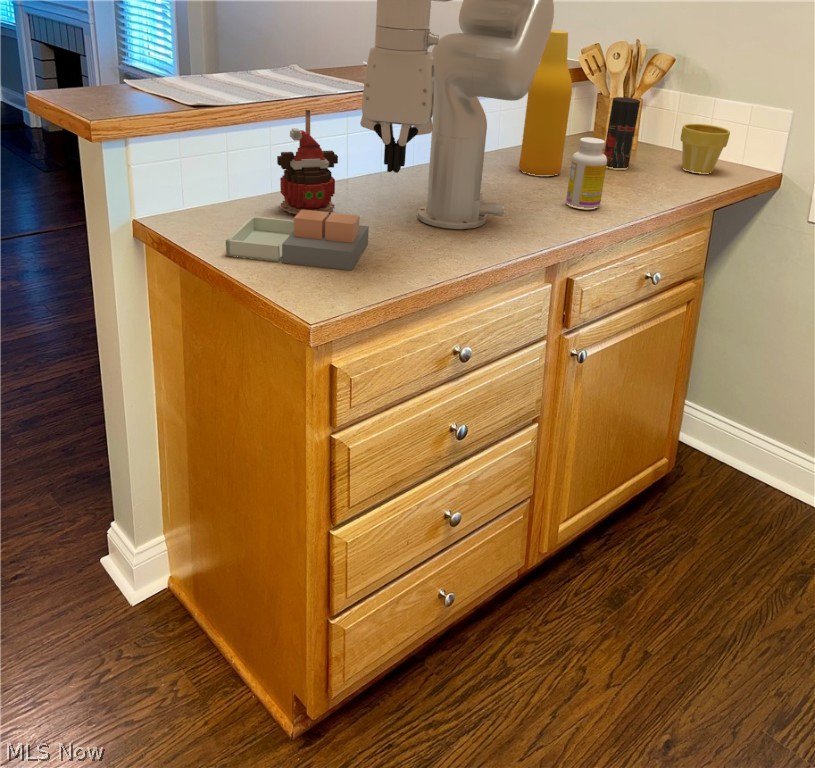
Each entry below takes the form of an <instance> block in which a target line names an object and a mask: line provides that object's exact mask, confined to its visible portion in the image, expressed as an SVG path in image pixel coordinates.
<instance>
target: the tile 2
mask: <svg viewBox="0 0 815 768" xmlns="http://www.w3.org/2000/svg"><path fill="white" fill-rule="evenodd" d="M360 216H361V215H358V214H350V213H349V214H348V213H347V214H346V213H339V212H330V214H329V217H328V218H327V220H326V221H325V240H333V241H343V242H352V243H353V242H354V241H355V239H356V238H357V236H358V235H359V225H360V220H361V218H360Z"/></svg>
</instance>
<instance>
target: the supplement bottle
mask: <svg viewBox="0 0 815 768" xmlns="http://www.w3.org/2000/svg"><path fill="white" fill-rule="evenodd" d="M605 144H606V140H604V139H601V138H596V137H589V136H588V137H581V138H580V139H579V143H578V146H579V150H578V151H576V152H575V153H573V155H572V157H571V163H570V172H569V178H568V186H567V193H566V201H565V203H566V202H567V203H568V204H570V205H573V206H577V207H584V208H594V207H598V206H599V207H600V206H601V201H602V195H603V187H604V183H605V177H606V171H607V169H606V165H607V158H606V156H605V155H604V153H603V150H604V149H605ZM567 203H566V204H567ZM599 207H598V208H599Z"/></svg>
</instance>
